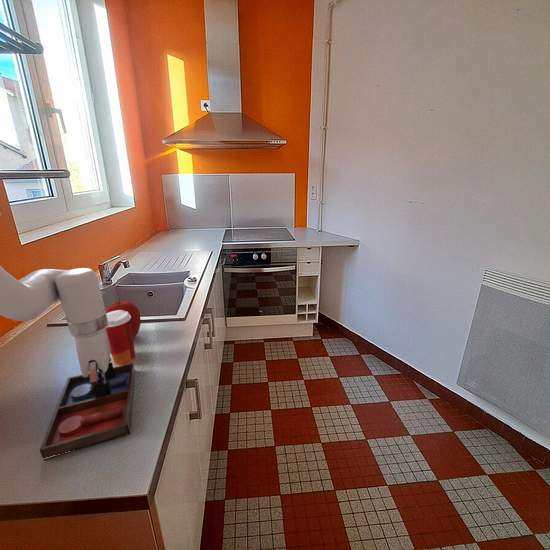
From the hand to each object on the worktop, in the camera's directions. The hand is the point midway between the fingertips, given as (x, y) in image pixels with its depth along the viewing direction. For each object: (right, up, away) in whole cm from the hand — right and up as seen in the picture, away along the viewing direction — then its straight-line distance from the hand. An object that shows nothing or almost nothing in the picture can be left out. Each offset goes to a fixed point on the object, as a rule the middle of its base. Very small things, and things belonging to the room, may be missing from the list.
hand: (106, 386), depth 74 cm
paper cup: (-2, +3, +13) cm, 13 cm away
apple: (-6, +7, +23) cm, 25 cm away
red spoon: (+3, -4, -10) cm, 11 cm away
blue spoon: (-1, -1, 0) cm, 1 cm away
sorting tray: (+1, -3, -5) cm, 6 cm away
